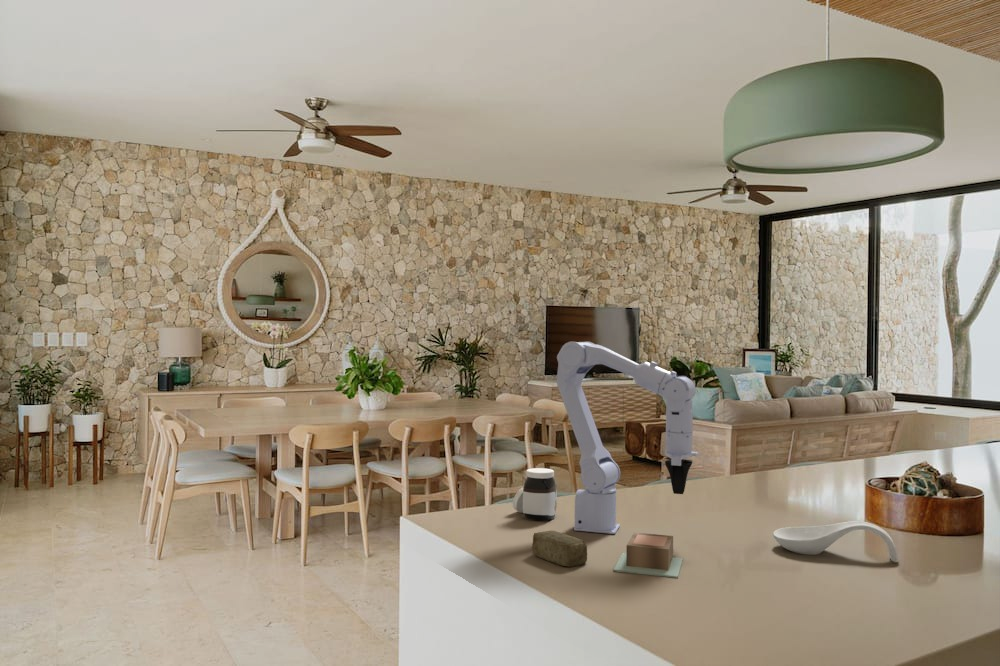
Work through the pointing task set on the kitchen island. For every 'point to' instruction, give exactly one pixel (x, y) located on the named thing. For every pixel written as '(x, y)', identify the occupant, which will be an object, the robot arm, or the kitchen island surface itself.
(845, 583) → the kitchen island surface
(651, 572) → the mat
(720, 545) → the kitchen island surface
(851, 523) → the spoon rest
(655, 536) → the walnut block
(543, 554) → the stone block
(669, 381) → the robot arm
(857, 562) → the kitchen island surface
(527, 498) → the spread jar
